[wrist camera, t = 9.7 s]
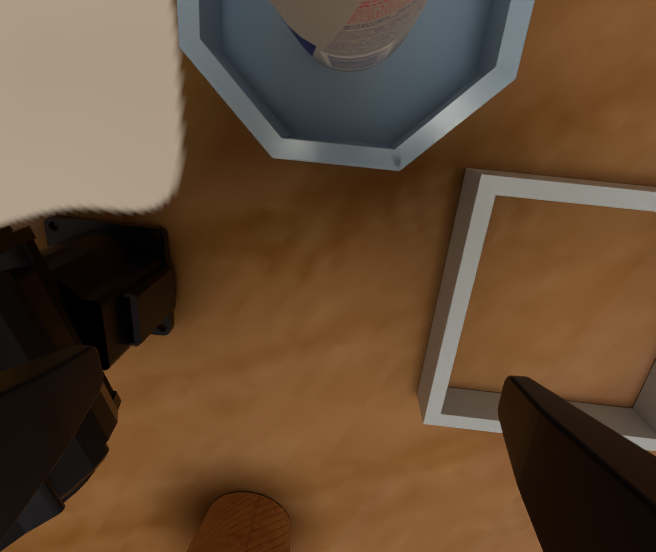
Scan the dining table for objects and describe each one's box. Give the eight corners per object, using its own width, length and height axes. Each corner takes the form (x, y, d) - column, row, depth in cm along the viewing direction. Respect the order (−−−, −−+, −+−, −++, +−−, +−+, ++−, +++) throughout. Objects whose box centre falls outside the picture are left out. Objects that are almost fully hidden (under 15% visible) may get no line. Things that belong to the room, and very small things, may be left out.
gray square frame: (416, 394, 24) (423, 423, 22) (466, 167, 19) (481, 174, 17) (640, 420, 24) (671, 452, 22) (751, 196, 19) (808, 207, 16)
